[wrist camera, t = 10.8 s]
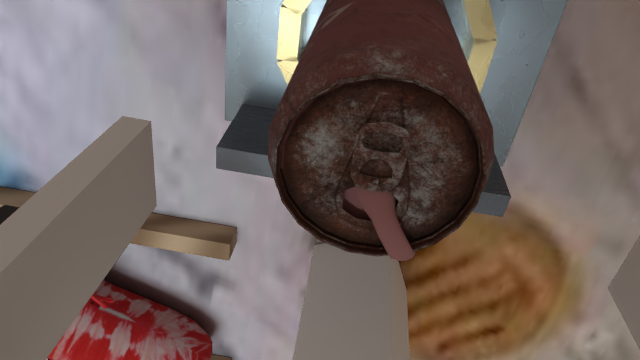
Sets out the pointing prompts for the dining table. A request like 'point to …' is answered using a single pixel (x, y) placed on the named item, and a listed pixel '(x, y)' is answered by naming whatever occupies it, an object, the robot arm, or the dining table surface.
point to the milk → (353, 308)
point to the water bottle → (130, 330)
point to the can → (381, 129)
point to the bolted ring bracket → (295, 30)
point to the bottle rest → (165, 234)
